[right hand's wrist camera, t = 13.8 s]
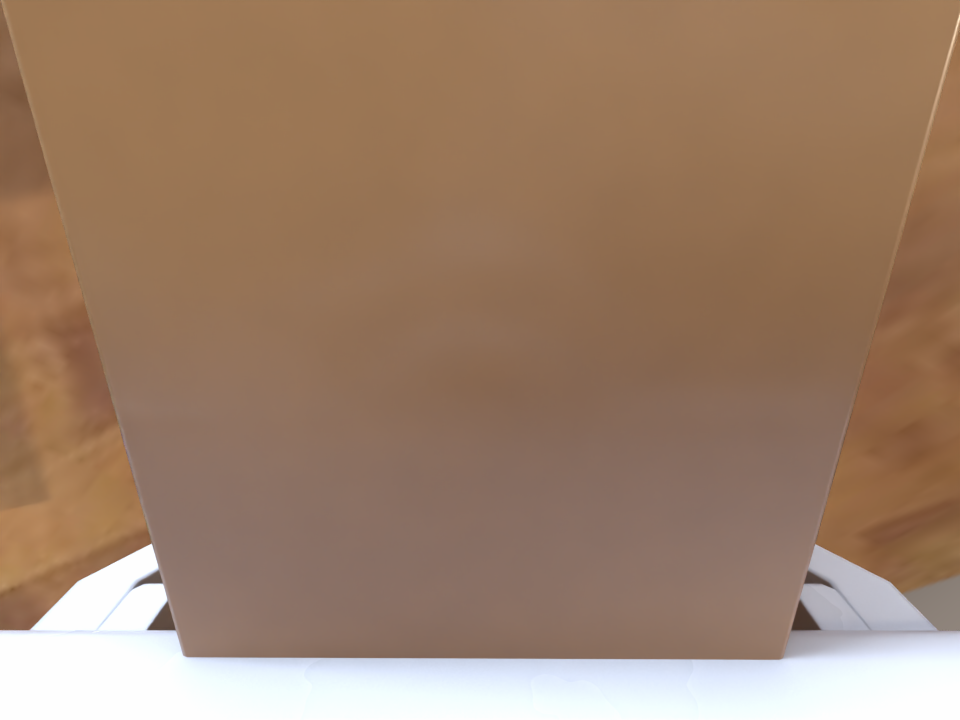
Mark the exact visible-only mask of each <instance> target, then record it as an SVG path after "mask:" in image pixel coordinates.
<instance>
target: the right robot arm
mask: <svg viewBox="0 0 960 720" xmlns="http://www.w3.org/2000/svg"><path fill="white" fill-rule="evenodd" d="M0 720H960V631H938V630H937V629H936V628H935V627H934V626H933V625H932V624H931V623H930V622H929V621H928V620H927V619H926V618H925V617H924V616H923V615H922V614H921V613H920V612H919V611H918V610H917V609H916V608H915V607H914V606H913V605H912V604H911V603H910V602H909V601H908V600H907V599H906V598H905V597H904V596H903V595H902V594H901V593H900V592H899V591H898V590H897V589H896V588H895V587H894V586H893V585H892V584H891V582H889V581H887V580H885V579H883V578H881V577H879V576H877V575H875V574H873V573H871V572H869V571H867V570H865V569H863V568H861V567H859V566H857V565H855V564H853V563H851V562H849V561H847V560H845V559H843V558H841V557H839V556H837V555H836V554H834V553H832V552H830V551H828V550H826V549H824V548H822V547H820V546H818V545H816V544H815V546H814V550H813V553H812V557H811V561H810V564H809V568H808V571H807V575H806V578H805V582H804V586H803V589H802V593H801V596H800V600H799V603H798V607H797V610H796V614H795V618H794V621H793V625H792V628H791V632H790V635H789V639H788V643H787V646H786V650H785V653H784V657H783V658H782V659H780V660H695V659H457V658H220V657H185V656H183V654H182V650H181V647H180V643H179V639H178V636H177V632H176V629H175V625H174V621H173V618H172V614H171V611H170V607H169V603H168V600H167V596H166V593H165V589H164V586H163V582H162V578H161V575H160V571H159V568H158V564H157V560H156V557H155V553H154V550H153V546H152V544H150V545H148V546H146V547H144V548H142V549H141V550H139V551H137V552H135V553H133V554H131V555H129V556H127V557H125V558H123V559H121V560H119V561H117V562H115V563H113V564H111V565H109V566H107V567H105V568H103V569H101V570H99V571H97V572H95V573H94V574H92V575H90V576H88V577H86V578H84V579H82V580H80V581H78V582H77V583H76V584H75V585H74V586H73V587H72V588H71V589H70V590H69V591H68V592H67V593H66V594H65V595H64V596H63V597H62V598H61V599H60V600H59V601H58V602H57V603H56V604H55V605H54V606H53V607H52V608H51V609H50V610H49V611H48V612H47V613H46V614H45V615H44V616H43V617H42V618H41V619H40V620H39V621H38V623H37V624H36V625H35V626H34V627H33V628H32V629H31V630H0Z"/></svg>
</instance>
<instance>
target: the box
mask: <svg viewBox="0 0 960 720" xmlns="http://www.w3.org/2000/svg"><path fill="white" fill-rule="evenodd" d="M0 1H1V4H2V8H3V12H4V15H5V19H6V22H7V26H8V30H9V33H10V37H11V40H12V44H13V47H14V51H15V55H16V58H17V62H18V65H19V69H20V73H21V76H22V80H23V83H24V87H25V91H26V94H27V98H28V101H29V105H30V108H31V112H32V116H33V119H34V123H35V126H36V130H37V134H38V137H39V141H40V144H41V148H42V152H43V155H44V159H45V162H46V166H47V169H48V173H49V177H50V180H51V184H52V187H53V191H54V195H55V198H56V202H57V205H58V209H59V213H60V216H61V220H62V223H63V227H64V230H65V234H66V238H67V241H68V245H69V248H70V252H71V256H72V259H73V263H74V266H75V270H76V273H77V277H78V281H79V284H80V288H81V291H82V295H83V299H84V302H85V306H86V309H87V313H88V317H89V320H90V324H91V327H92V331H93V334H94V338H95V342H96V345H97V349H98V352H99V356H100V360H101V363H102V367H103V370H104V374H105V378H106V381H107V385H108V388H109V392H110V395H111V399H112V403H113V406H114V410H115V413H116V417H117V421H118V424H119V428H120V431H121V435H122V438H123V442H124V446H125V449H126V453H127V456H128V460H129V464H130V467H131V471H132V474H133V478H134V482H135V485H136V489H137V492H138V496H139V499H140V503H141V507H142V510H143V514H144V517H145V521H146V525H147V528H148V532H149V535H150V539H151V543H152V546H153V550H154V553H155V557H156V560H157V564H158V568H159V571H160V575H161V578H162V582H163V586H164V589H165V593H166V596H167V600H168V603H169V607H170V611H171V614H172V618H173V621H174V625H175V629H176V632H177V636H178V639H179V643H180V647H181V650H182V654H183V656H185V657H220V658H457V659H695V660H780V659H782V658H783V657H784V653H785V650H786V646H787V643H788V639H789V635H790V632H791V628H792V625H793V621H794V618H795V614H796V610H797V607H798V603H799V600H800V596H801V593H802V589H803V586H804V582H805V578H806V575H807V571H808V568H809V564H810V561H811V557H812V553H813V550H814V546H815V543H816V539H817V536H818V532H819V529H820V525H821V521H822V518H823V514H824V511H825V507H826V504H827V500H828V497H829V493H830V489H831V486H832V482H833V479H834V475H835V472H836V468H837V464H838V461H839V457H840V454H841V450H842V447H843V443H844V440H845V436H846V432H847V429H848V425H849V422H850V418H851V415H852V411H853V407H854V404H855V400H856V397H857V393H858V390H859V386H860V383H861V379H862V375H863V372H864V368H865V365H866V361H867V358H868V354H869V351H870V347H871V343H872V340H873V336H874V333H875V329H876V326H877V322H878V318H879V315H880V311H881V308H882V304H883V301H884V297H885V294H886V290H887V286H888V283H889V279H890V276H891V272H892V269H893V265H894V261H895V258H896V254H897V251H898V247H899V244H900V240H901V237H902V233H903V229H904V226H905V222H906V219H907V215H908V212H909V208H910V204H911V201H912V197H913V194H914V190H915V187H916V183H917V180H918V176H919V172H920V169H921V165H922V162H923V158H924V155H925V151H926V148H927V144H928V140H929V137H930V133H931V130H932V126H933V123H934V119H935V115H936V112H937V108H938V105H939V101H940V98H941V94H942V91H943V87H944V83H945V80H946V76H947V73H948V69H949V66H950V62H951V58H952V55H953V51H954V48H955V44H956V41H957V37H958V34H959V30H960V0H0Z"/></svg>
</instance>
